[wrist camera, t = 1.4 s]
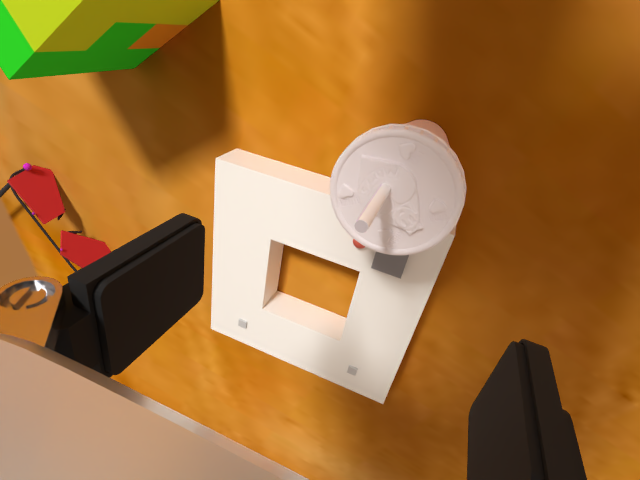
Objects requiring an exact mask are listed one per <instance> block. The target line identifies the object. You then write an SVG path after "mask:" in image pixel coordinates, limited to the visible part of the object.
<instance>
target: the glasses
mask: <svg viewBox="0 0 640 480" xmlns="http://www.w3.org/2000/svg"><path fill="white" fill-rule="evenodd" d="M7 182H8V183H7V184H6V185H5V186H4V187H3V188H2V189H1V190H0V197H1V196H2V195H3V194H4V193H5V192H6V191H7V190H8V189H9V188H10V187H11V189H12V191H13V193H14V195H15V196H16V198H17V199H18V200H19V202H20V203H21V204H22V206H23V207H24V208H25V209H26V211H27V212H28V213H29V214H30V216H31V217H32V218H33V220H34V221H35V222H36V223H37V225H38V226H39V227H40V228H41V230H42V231H43V232H44V234H45V235H46V236H47V237H48V239H49V240H50V241H51V243H52V244H53V245H54V246H55V248H56V249H57V250H58V251H59V253H60V255H62V257H63V258H64V259H65V260H66V262H67V263H68V264H69V265H70V267H71V268H72V269H73V270H74V271H75V272H76V271H77V270H76V269H75V268H74V267H73V265H72V264H71V263H70V262H69V260H70V261H71V262H73V263H75V264H76V265H78V266H79V267H81V268H84V267H85V266H87V265H89V264H91V263H93V262H94V261H96V260H98V259H100V258H102V257H103V256H105V255H107V254H109V253H111V251H110V249H109V248H108V247H107V245H106V244H105V242H102V241H99V240H95V239H91V238H88V237H84V236H81V235H77V233H81V232H82V231H68V232H66V231H63V230H62V231H61V246H60V249H59V248H58V246H57V245H56V244H55V242H54V241H53V240H52V239H51V237H50V236H49V235H48V234H47V232H46V231H45V230H44V228H43V227H42V226H41V225H40V223H39V222H38V221H37V219H36V218H35V217H34V216H33V215H36V216H37V217H38V218H39V219H40V221H41V222H42V223H43V224H46V223H47V222H49V221H51V220H52V219H54V218H56V217H58V220H59V219H60V218H61V217H62V215H63V214H64V212H65V210H66V209H64V206H63V203H62V200H61V197H60V193H59V190H58V187H57V184H56V181H55V178H54V174H53V172H52V171H51V170H50V169H46V168H42V167H39V166H35V165H33V166H31V165H30V164H28V163H26V164H24V165H23V169H21V170H19V171H16V172H15V173H13V174H12V175H11V177H10V179H9V180H8V181H7ZM16 192H17V193H18V195H19V196H20V197H21V198H22V199H23V201H24V202H25V203H26V204H27V205H28V206H29V208H30V209H31V210H32V211H33V213H31V212H30V210H29V209H28V208H27V207H26V205H25V204H24V203H23V202H22V200H21V199H20V198H19V196H18V195H17V193H16Z"/></svg>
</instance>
